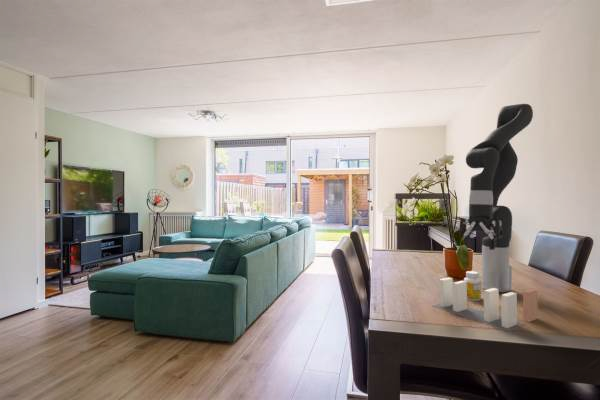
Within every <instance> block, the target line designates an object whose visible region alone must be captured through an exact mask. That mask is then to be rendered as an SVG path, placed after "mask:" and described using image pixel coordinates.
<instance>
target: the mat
mask: <svg viewBox="0 0 600 400" xmlns="http://www.w3.org/2000/svg"><path fill="white" fill-rule="evenodd" d="M432 307H434V308H437V309H440V310H443V311H445V312H449V313H451V314H454V315H457V316H461V317H464V318H466V319H469V320H473V321H475V322H478V323H481V324H484V325H487V326H491V327H494V328H496V329H499V330H502V331H506V332H512V331H513V330H517V329H518V328H520V327H522V326H525V325H526V324H525V323H521V322H519V321H517V325H514V326H512V327H510V328H505V327H502V316H499V319H497V320H494V321H492V322H487V321H484V310H483V311H482V310H479V309H475V308H473V307H469V306H467V309H465V310H462V311H459V312H456V311H453V305H450V306H446V307H441V306H439V303H438V304H435V305H432Z"/></svg>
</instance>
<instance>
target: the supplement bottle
mask: <svg viewBox="0 0 600 400" xmlns="http://www.w3.org/2000/svg"><path fill="white" fill-rule="evenodd" d="M465 276H466V277H464V278H463V281H466V282H467V301H468V300H469V301H480V300H481V299H482V296H481V295H482V292H481V291H482V287H481V286H482V280H481V279H480V278H479V272H478V271H472V270H466V272H465Z"/></svg>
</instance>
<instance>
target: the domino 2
mask: <svg viewBox="0 0 600 400" xmlns="http://www.w3.org/2000/svg"><path fill="white" fill-rule="evenodd" d="M467 302H468V299H467V282H466V281H464V280H459V281H455V282H453V311H456V312H459V311H462V310H465V309H467V307H468V303H467Z"/></svg>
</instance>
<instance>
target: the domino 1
mask: <svg viewBox="0 0 600 400" xmlns="http://www.w3.org/2000/svg"><path fill="white" fill-rule="evenodd" d="M453 279H454V278H453V277H450V276H447V277H445V278H440V279H438V281H439V282H438V297H439V298H438V301H439V303H438V304H439V306H441V307H446V306H450V305H453V283H454V282H453V281H454V280H453Z"/></svg>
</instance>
